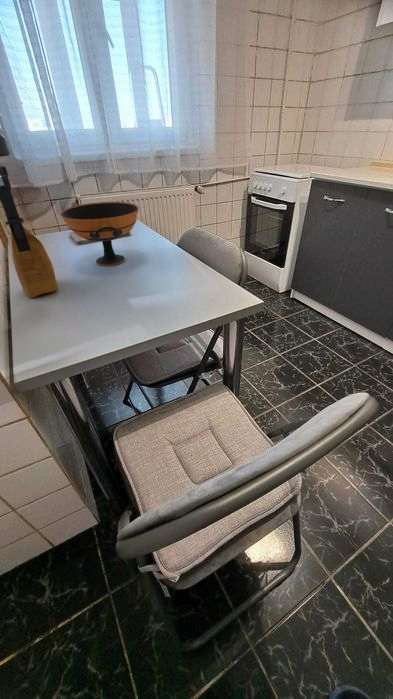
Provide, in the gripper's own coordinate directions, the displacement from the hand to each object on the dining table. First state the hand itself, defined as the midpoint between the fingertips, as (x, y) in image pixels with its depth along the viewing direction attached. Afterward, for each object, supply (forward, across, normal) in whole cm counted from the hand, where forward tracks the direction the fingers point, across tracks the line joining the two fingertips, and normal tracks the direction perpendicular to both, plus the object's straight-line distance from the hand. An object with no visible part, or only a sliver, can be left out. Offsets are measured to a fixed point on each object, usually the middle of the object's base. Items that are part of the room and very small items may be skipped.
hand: (24, 250), depth 73 cm
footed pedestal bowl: (+15, +24, -27) cm, 39 cm away
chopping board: (+14, +59, -33) cm, 69 cm away
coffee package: (+15, +12, -1) cm, 20 cm away
